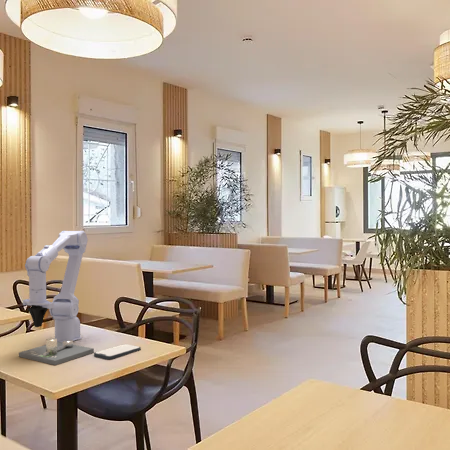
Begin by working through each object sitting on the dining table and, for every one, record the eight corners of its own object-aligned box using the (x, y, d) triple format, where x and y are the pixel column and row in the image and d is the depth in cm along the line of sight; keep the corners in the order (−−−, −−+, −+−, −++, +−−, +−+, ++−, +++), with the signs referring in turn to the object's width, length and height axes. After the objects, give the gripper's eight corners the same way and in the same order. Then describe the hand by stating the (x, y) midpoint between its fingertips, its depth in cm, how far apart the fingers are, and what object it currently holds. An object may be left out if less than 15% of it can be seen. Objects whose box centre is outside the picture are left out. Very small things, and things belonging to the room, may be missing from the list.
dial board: (58, 345, 186) (58, 341, 186) (93, 352, 176) (93, 348, 176) (18, 356, 171) (18, 352, 171) (55, 365, 161) (55, 360, 161)
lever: (66, 344, 180) (66, 331, 180) (75, 345, 179) (75, 332, 179) (40, 355, 166) (39, 341, 166) (48, 356, 165) (48, 342, 165)
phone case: (125, 347, 185) (92, 357, 172) (125, 343, 185) (92, 352, 172) (142, 351, 180) (109, 361, 167) (142, 347, 180) (109, 356, 167)
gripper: (15, 289, 176) (15, 326, 177) (41, 292, 169) (42, 331, 169) (31, 286, 182) (32, 322, 183) (58, 289, 175) (58, 327, 175)
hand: (38, 326), depth 176 cm, fingers closed
